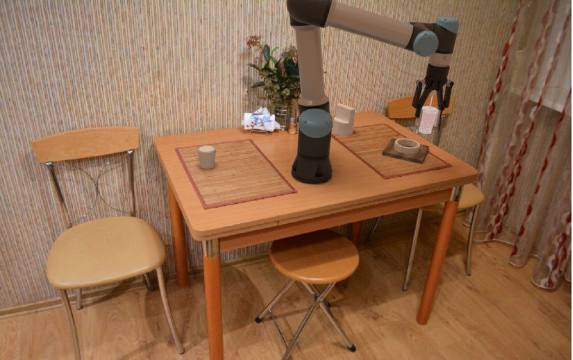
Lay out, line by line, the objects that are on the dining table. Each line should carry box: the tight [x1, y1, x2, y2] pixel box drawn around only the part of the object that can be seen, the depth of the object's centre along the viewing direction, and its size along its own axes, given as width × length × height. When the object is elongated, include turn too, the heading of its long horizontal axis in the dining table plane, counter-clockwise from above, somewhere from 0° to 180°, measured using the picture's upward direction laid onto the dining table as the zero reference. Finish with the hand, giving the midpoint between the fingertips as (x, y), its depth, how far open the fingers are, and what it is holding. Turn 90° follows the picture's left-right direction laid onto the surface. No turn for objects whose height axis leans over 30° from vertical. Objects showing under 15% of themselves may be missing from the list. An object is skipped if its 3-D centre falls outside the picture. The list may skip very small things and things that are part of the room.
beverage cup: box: [418, 95, 438, 135], centre depth 166 cm, size 6×6×14 cm
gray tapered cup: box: [196, 144, 217, 170], centre depth 166 cm, size 7×7×7 cm
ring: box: [394, 137, 421, 154], centre depth 185 cm, size 10×10×2 cm
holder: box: [382, 137, 430, 165], centre depth 186 cm, size 16×16×2 cm
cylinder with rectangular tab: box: [332, 103, 356, 137], centre depth 200 cm, size 9×9×12 cm
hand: (426, 125), depth 168 cm, fingers closed on beverage cup, 6 cm apart
